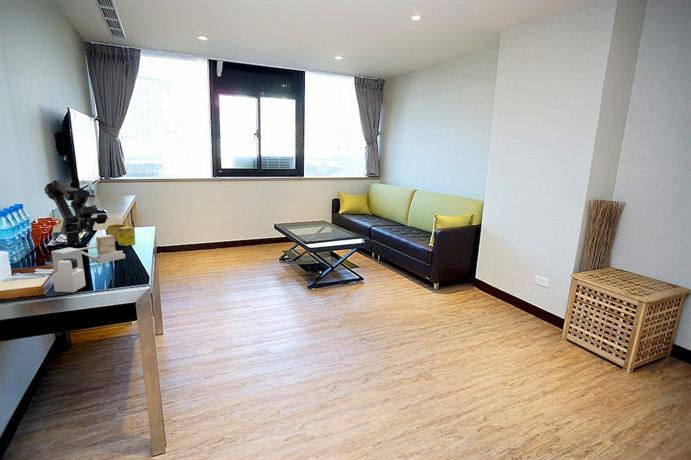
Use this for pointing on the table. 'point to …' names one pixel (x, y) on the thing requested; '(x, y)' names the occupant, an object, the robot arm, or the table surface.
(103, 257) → the tray
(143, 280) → the table surface
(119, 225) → the plant pot
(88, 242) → the table surface
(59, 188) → the robot arm
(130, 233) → the supplement box
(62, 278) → the white stepped block
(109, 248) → the birch block
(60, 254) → the supplement box
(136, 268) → the table surface
